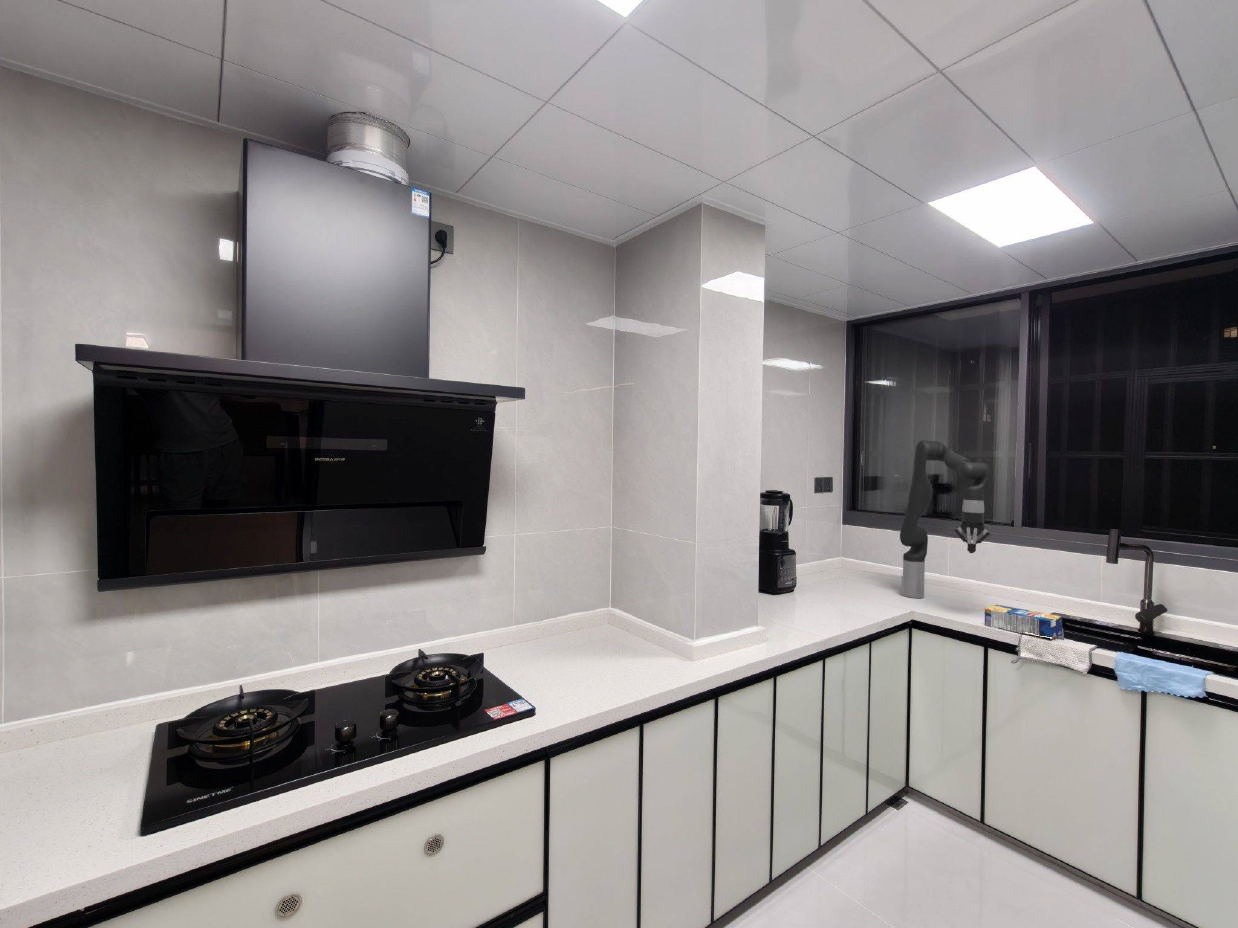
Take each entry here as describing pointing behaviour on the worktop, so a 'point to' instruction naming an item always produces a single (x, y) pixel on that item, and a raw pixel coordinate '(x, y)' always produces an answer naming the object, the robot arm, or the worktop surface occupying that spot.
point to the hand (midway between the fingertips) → (971, 552)
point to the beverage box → (1023, 621)
